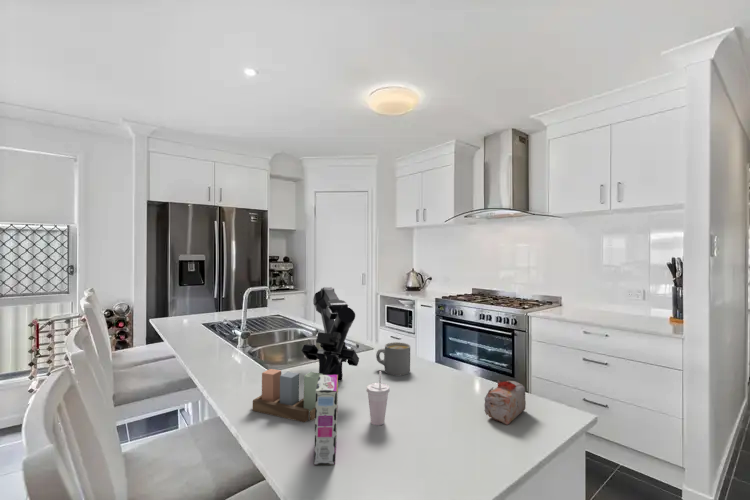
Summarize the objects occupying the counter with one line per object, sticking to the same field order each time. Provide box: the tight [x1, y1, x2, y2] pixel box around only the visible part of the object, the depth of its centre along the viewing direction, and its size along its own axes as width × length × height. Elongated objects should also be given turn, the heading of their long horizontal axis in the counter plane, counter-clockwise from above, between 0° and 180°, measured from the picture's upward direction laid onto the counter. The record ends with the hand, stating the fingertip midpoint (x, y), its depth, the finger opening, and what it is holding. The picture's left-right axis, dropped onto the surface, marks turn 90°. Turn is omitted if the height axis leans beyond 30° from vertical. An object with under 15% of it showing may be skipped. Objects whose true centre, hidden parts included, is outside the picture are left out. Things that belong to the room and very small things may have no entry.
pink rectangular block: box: [261, 368, 282, 402], centre depth 109 cm, size 4×4×10 cm
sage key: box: [303, 371, 323, 412], centre depth 107 cm, size 4×4×10 cm
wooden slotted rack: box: [252, 394, 315, 423], centre depth 107 cm, size 10×20×3 cm, turn 68°
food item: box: [484, 379, 527, 426], centre depth 104 cm, size 14×8×10 cm, turn 138°
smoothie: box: [366, 370, 390, 426], centre depth 99 cm, size 6×6×14 cm
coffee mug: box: [375, 341, 411, 377], centre depth 142 cm, size 13×10×10 cm
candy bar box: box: [313, 375, 339, 466], centre depth 85 cm, size 11×5×16 cm, turn 5°
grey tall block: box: [280, 371, 300, 406], centre depth 107 cm, size 4×4×10 cm
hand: (320, 379), depth 111 cm, fingers closed
